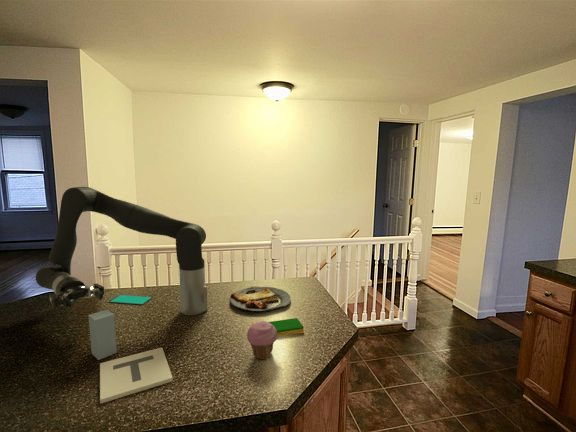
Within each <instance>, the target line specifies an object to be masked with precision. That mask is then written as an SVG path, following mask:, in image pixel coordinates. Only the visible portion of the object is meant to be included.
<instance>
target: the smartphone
mask: <svg viewBox="0 0 576 432" xmlns="http://www.w3.org/2000/svg"><path fill="white" fill-rule="evenodd" d="M152 299H153V297H152V296H145V295H144V296H142V295H131V294H129V295H127V294H120V295H118V296H115V297H114V298H112V299H111V300H109V301H108V303H109V304H120V305H124V304H125V305H130V306H131V305H134V306H145V304H147V303H148V302H149V301H152Z"/></svg>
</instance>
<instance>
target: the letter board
mask: <svg viewBox="0 0 576 432" xmlns="http://www.w3.org/2000/svg"><path fill="white" fill-rule="evenodd" d="M168 363H169V362H168V361H167V358H166V354H165V352H164V350H163V347H158V348H154V349H151V350H147V351H143V352H140V353H139V352H138V353H135V354H130V355H127V356H123V357H119V358H115V359H111V360H108V361H103V362H100V363H99V391H100V392H99V403H100V404H104V403H107V402H111V401H113V400H116V399H120V398H123V397H126V396H129V395H132V394H136V393H139V392H142V391H145V390H149V389H152V388H156V387H159V386H161V385H165V384H168V383H171V382H173V380H174V379H173V375H172V371H171V369H170V366H169V364H168Z"/></svg>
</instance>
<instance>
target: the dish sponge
mask: <svg viewBox="0 0 576 432" xmlns="http://www.w3.org/2000/svg"><path fill="white" fill-rule="evenodd" d="M268 322H269V323H270V324H272V325H273V326H274V327H275V328H276V330H277V338H278V337H284V336H291V335H296V334H302V333H304V330H305V329H304V327H305V326H304V325H303V324H302V322H301V321H300V320H299V319H298V318H297V317H295V318H286V319H279V320H273V321H272V320H271V321H268Z"/></svg>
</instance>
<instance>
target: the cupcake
mask: <svg viewBox="0 0 576 432" xmlns="http://www.w3.org/2000/svg"><path fill="white" fill-rule="evenodd" d="M269 322H270V321H265V320H261V321H257V322H254V323H252V324H251V325H249V328H247V332H246V338H247V341H248V343H249V344H250V346H251V349H252V354H253V357H255V358H257V359H261V360H267V359H269V357H270V356H271V354H272V353H273V349H274V343H275V342H276V341H277V338H278V337H277V330H276V328H275V327H274V326H273V325H272V324H270V323H269Z"/></svg>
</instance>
